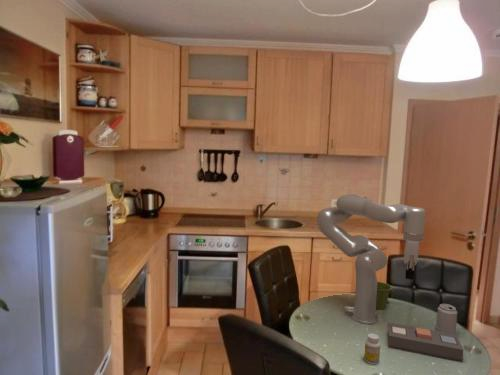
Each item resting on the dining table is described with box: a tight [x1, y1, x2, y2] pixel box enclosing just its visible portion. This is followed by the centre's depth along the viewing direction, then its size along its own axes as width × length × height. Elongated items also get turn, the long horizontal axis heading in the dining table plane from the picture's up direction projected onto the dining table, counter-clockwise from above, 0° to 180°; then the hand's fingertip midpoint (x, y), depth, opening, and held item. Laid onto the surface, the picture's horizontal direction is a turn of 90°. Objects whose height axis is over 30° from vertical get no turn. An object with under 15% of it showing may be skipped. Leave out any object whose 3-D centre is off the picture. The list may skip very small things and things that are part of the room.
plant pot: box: [376, 281, 393, 310], centre depth 177 cm, size 12×12×11 cm
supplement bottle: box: [364, 333, 381, 365], centre depth 130 cm, size 5×5×10 cm
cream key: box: [392, 327, 406, 335], centre depth 144 cm, size 5×5×4 cm
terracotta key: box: [416, 327, 431, 340], centre depth 140 cm, size 5×5×4 cm
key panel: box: [387, 322, 464, 363], centre depth 141 cm, size 26×12×5 cm, turn 70°
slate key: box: [440, 335, 457, 345], centre depth 137 cm, size 5×5×4 cm
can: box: [435, 303, 458, 334], centre depth 152 cm, size 8×8×12 cm
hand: (409, 278), depth 148 cm, fingers closed
